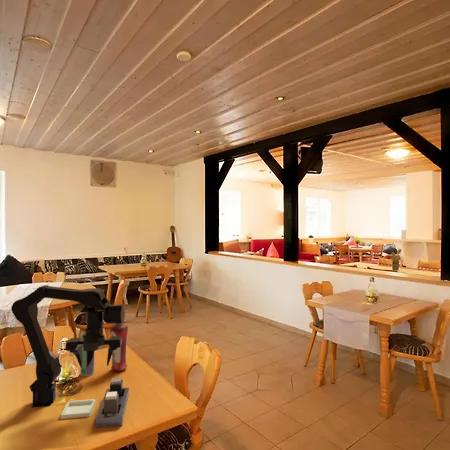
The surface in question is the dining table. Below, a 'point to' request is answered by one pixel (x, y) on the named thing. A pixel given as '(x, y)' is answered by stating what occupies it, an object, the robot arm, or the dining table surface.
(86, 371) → the spray can
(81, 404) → the tray
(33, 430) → the dining table surface
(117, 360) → the liquor
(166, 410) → the dining table surface
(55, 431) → the dining table surface
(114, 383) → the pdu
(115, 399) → the plug
